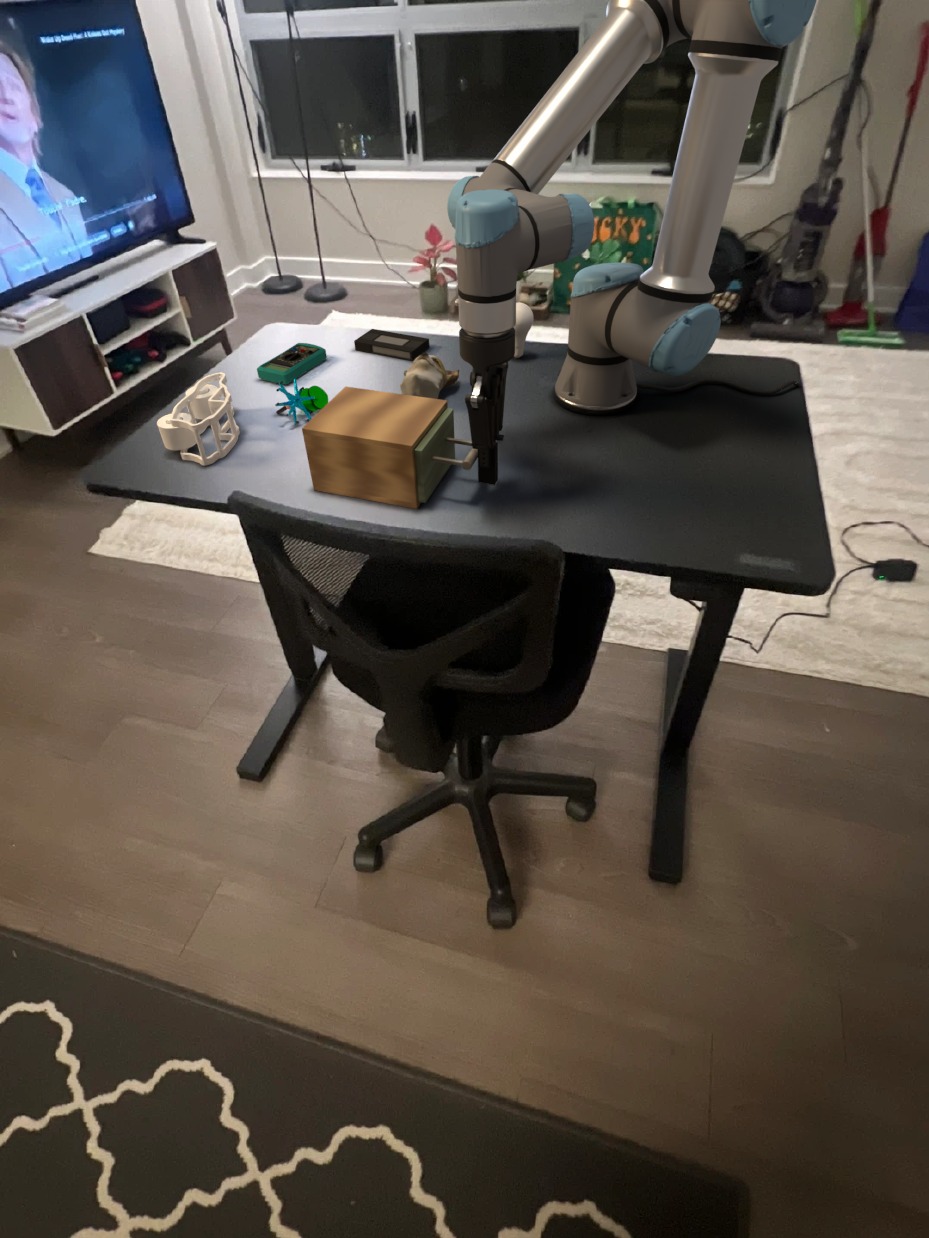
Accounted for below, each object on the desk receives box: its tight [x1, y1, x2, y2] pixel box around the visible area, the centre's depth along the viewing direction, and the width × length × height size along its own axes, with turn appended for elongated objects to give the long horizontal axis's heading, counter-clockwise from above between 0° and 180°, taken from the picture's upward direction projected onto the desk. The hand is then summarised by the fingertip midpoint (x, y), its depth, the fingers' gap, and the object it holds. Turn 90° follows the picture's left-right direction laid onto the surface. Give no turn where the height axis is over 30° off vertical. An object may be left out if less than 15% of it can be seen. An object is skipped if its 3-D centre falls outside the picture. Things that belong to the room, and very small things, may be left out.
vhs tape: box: [353, 328, 430, 362], centre depth 153 cm, size 8×14×2 cm, turn 64°
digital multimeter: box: [256, 342, 328, 386], centre depth 146 cm, size 7×15×3 cm, turn 153°
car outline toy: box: [156, 372, 241, 467], centre depth 125 cm, size 20×11×7 cm, turn 171°
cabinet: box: [301, 385, 449, 510], centre depth 112 cm, size 18×15×11 cm
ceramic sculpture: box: [399, 351, 460, 399], centre depth 134 cm, size 11×9×15 cm
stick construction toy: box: [274, 378, 329, 425], centre depth 132 cm, size 12×7×8 cm
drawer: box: [414, 407, 478, 504], centre depth 111 cm, size 23×14×9 cm, turn 71°
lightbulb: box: [513, 301, 534, 359], centre depth 145 cm, size 6×6×11 cm
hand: (488, 481), depth 110 cm, fingers closed
